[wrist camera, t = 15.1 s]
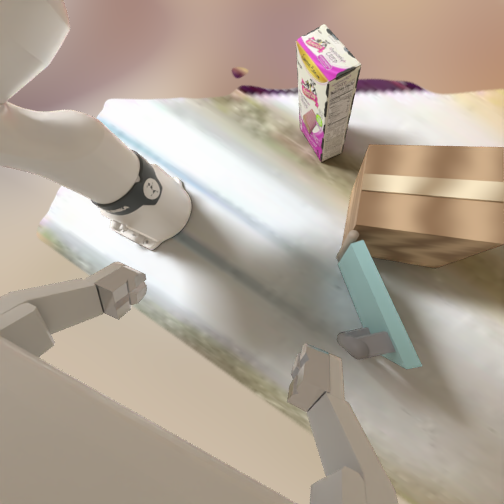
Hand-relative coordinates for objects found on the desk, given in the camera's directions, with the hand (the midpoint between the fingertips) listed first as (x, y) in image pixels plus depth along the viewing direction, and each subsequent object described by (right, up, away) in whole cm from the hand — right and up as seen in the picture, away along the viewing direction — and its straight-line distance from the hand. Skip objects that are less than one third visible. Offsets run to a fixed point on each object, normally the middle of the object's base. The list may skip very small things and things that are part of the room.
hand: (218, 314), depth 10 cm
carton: (+26, +7, +26) cm, 37 cm away
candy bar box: (+16, +27, +35) cm, 47 cm away
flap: (+17, -5, +24) cm, 30 cm away
